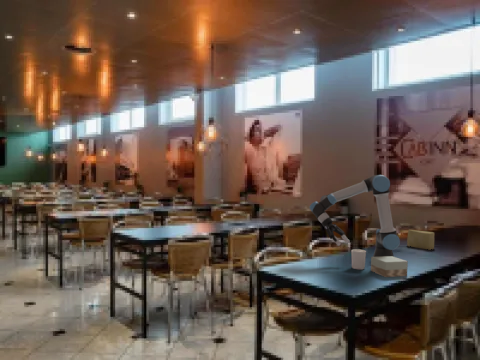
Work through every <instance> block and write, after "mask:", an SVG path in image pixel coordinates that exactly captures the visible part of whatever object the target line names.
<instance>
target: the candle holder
mask: <svg viewBox="0 0 480 360" xmlns="http://www.w3.org/2000/svg"><path fill="white" fill-rule="evenodd" d="M350 253H351V268H352V269H355V270H365V266H366V258H367V257H366V254H367V250H364V249H359V248H357V249H356V248H355V249H351V251H350Z"/></svg>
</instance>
